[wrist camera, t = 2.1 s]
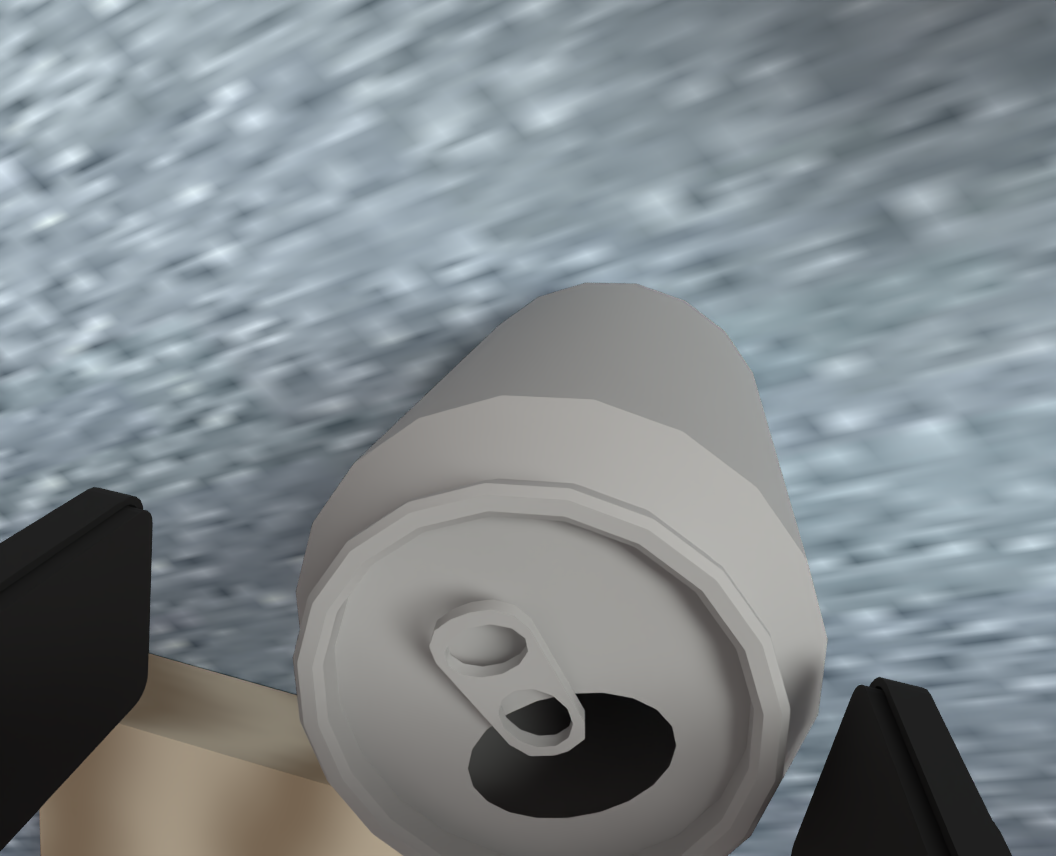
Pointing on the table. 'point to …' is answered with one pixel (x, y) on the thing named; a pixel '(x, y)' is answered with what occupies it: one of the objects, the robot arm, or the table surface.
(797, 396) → the table surface
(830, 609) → the table surface
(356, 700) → the can
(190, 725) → the plinth
